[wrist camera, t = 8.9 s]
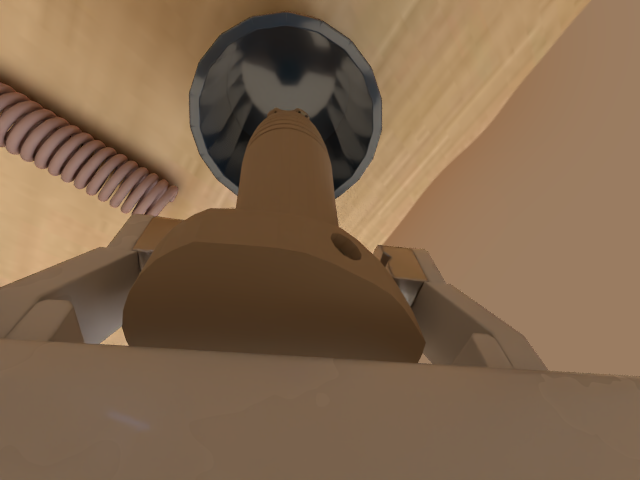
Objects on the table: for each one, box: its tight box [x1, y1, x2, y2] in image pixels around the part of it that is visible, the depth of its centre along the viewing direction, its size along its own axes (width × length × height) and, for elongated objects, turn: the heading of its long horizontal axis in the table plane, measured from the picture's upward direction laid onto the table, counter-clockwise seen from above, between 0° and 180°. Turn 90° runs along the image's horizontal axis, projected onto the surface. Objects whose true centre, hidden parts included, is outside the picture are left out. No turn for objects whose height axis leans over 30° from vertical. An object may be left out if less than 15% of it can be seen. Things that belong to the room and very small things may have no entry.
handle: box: [122, 108, 426, 363], centre depth 13 cm, size 5×6×15 cm
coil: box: [0, 82, 178, 216], centre depth 28 cm, size 5×5×18 cm
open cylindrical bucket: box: [189, 11, 382, 199], centre depth 24 cm, size 12×12×11 cm
